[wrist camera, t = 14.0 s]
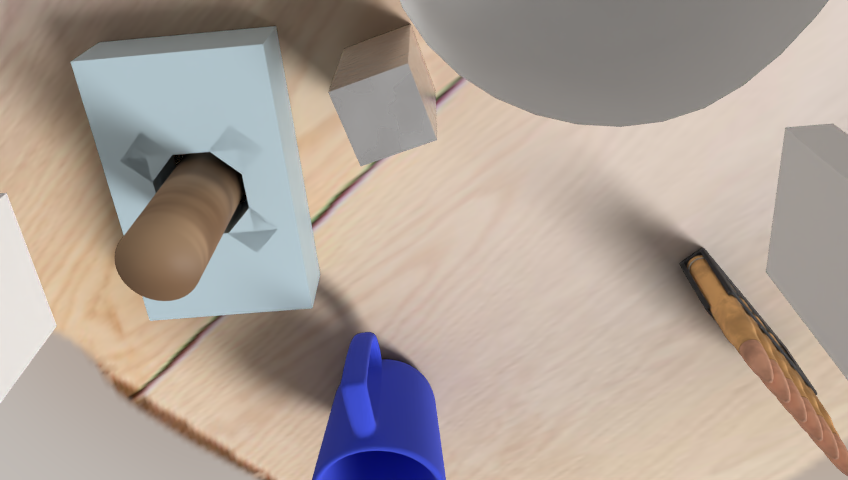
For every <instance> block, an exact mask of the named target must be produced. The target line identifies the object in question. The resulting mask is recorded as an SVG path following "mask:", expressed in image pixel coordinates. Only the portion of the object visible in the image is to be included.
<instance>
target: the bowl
mask: <svg viewBox="0 0 848 480" xmlns="http://www.w3.org/2000/svg"><path fill="white" fill-rule="evenodd" d="M828 1H829V0H400V2H401V5H402V8H403V9H404V11H405V12H406V14H407V15H408V17H409V18H410V20H411V21H412V22H413V24H414V25H415V27H416V28H417V30H418V31H419V33H420V34H421V36H422V37H423V39H424V40H425V42H426V43H427V45H428V46H429V47H430V48H431V49H433V50H434V51H435V52H436V53H437V54H438V55H439V56H440V57H441V58H442V59H443V60H444V61H445V62H446V63H447V64H448V65H449V66H450V67H451V68H452V69H454V70H455V71H456V72H457V73H458V74H459V75H460V76H462V77H463V78H465V79H466V80H468V81H470V82H471V83H473V84H474V85H476V86H477V87H479V88H481V89H482V90H484V91H485V92H487V93H488V94H490V95H492V96H493V97H495V98H497V99H499V100H501V101H504V102H506V103H509V104H511V105H513V106H516V107H518V108H521V109H523V110H526V111H528V112H530V113H533V114H535V115H539V116H544V117H548V118H552V119H557V120H561V121H565V122H570V123H574V124H581V125H599V126H616V127H622V126H631V125H639V124H647V123H655V122H663V121H666V120H669V119H672V118H675V117H678V116H682V115H685V114H688V113H691V112H694V111H697V110H700V109H703V108H705V107H707V106H709V105H711V104H712V103H714V102H716V101H717V100H719V99H721V98H723V97H724V96H726V95H728V94H729V93H731V92H733V91H735V90H736V89H738V88H740V87H741V86H743V85H744V84H746V83H747V82H748V81H749V80H750V79H752V78H753V77H754V76H755V75H757V74H758V73H759V72H760V71H761V70H763V69H764V68H765V67H766V66H767V65H769V64H770V63H771V62H772V61H773V60H775V59H776V58H777V57H778V56H779V55H781V54H782V53H783V51H784V50H785V49H786V48H787V47H788V46H789V45H790V44H791V43H792V42H793V41H794V40H795V39H796V38H797V36H798V35H799V34H800V33H801V32H802V31H803V30H804V29H805V28H806V27H807V26H808V25H809V24H810V23H811V22H812V20H813V19H814V18H815V17H816V16H817V15H818V14H819V12H820V11H821V10H822V8H823V7H824V6H825V4H826V3H827V2H828Z"/></svg>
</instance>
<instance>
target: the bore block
mask: <svg viewBox="0 0 848 480" xmlns="http://www.w3.org/2000/svg"><path fill="white" fill-rule="evenodd" d="M71 65H72V69H73V72H74V75H75V78H76V82H77V85H78V88H79V91H80V95H81V98H82V101H83V104H84V108H85V111H86V114H87V117H88V121H89V124H90V127H91V130H92V134H93V137H94V140H95V143H96V147H97V150H98V153H99V156H100V160H101V163H102V166H103V170H104V173H105V176H106V179H107V183H108V186H109V189H110V192H111V196H112V199H113V202H114V205H115V209H116V212H117V215H118V218H119V222H120V225H121V228H122V231H123V235H125V234H126V232H127V231H128V230H129V228H130V227H131V226H132V224H133V223H134V222H135V220H136V219H137V218H138V216H139V215H140V214H141V212H142V211H143V210H144V208H145V207H146V206H147V204H148V203H149V202H150V200H151V199H152V198H153V196H154V195H155V194H156V193H157V191H158V190H159V189H160V187H161V186H162V185H163V183H164V182H165V181H166V179H167V178H168V177H169V175H170V174H171V173H172V171H173V170H174V169H175V167H176V164H175V160H174V156H173V155H177V154H189V153H201V152H211V153H212V154H214V155H215V156H217V157H218V158H219V159H221V160H222V161H224V162H225V163H226V164H228V165H229V166H231V167H232V168H234V169H235V170H236V171H238V172H239V173H241V174H242V178H243V182H244V187H245V191H246V196H247V199H246V200H245V201H244V203H239V204H238V206H237V208H236V210H235V212H234V214H233V216H232V218H231V220H230V222H229V224H228V226H227V228H226V230H225V232H224V233H223V235H222V237H221V239H220V241H219V243H218V245H217V247H216V249H215V251H214V253H213V255H212V257H211V259H210V261H209V263H208V265H207V267H206V269H205V271H204V273H203V275H202V276H201V278H200V280H199V282H198V284H197V286H196V287H195V289H194V290H193V291H192V292H191V293H189V294H188V295H186V296H185V297H183V298H180V299H177V300H172V301H157V300H152V299H149V298H146V297H143V296H142V297H143V300H144V303H145V306H146V310H147V313H148V316H149V319H150V321H152V320H166V319H179V318H192V317H205V316H218V315H231V314H244V313H257V312H270V311H283V310H297V309H310V308H313V304H314V300H315V295H316V291H317V287H318V282H319V278H320V270H319V264H318V259H317V253H316V248H315V242H314V236H313V231H312V225H311V219H310V214H309V208H308V203H307V197H306V191H305V186H304V180H303V174H302V169H301V163H300V157H299V152H298V146H297V141H296V135H295V129H294V124H293V118H292V112H291V107H290V101H289V95H288V90H287V84H286V79H285V73H284V67H283V62H282V56H281V50H280V45H279V39H278V34H277V28H276V26H271V27H260V28H249V29H238V30H227V31H217V32H206V33H195V34H184V35H173V36H162V37H151V38H140V39H130V40H119V41H108V42H99V43H97V44H96V45H94V46H93V47H91V48H90V49H88V50H87V51H85V52H84V53H83V54H81V55H80V56H78V57H77V58H75V59H74V60H72V61H71Z"/></svg>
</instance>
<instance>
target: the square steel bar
mask: <svg viewBox="0 0 848 480" xmlns="http://www.w3.org/2000/svg"><path fill="white" fill-rule="evenodd" d="M328 93H329V95H330V97H331V99H332V102H333V104H334V106H335V109H336V111H337V113H338V115H339V118H340V120H341V122H342V125H343V127H344V129H345V131H346V134H347V136H348V138H349V141H350V143H351V145H352V147H353V150H354V152H355V154H356V157H357V159H358V161H359V163H360V166H363V165H366V164H369V163H372V162H374V161H377V160H380V159H383V158H386V157H389V156H392V155H395V154H398V153H401V152H403V151H406V150H409V149H412V148H415V147H418V146H421V145H424V144H427V143H430V142H433V141H435V140H437V123H436V96H435V88H434V85H433V82H432V80H431V77H430V74H429V72H428V69H427V66H426V63H425V61H424V58H423V55H422V53H421V50H420V47H419V45H418V42H417V39H416V36H415V34H414V31H413V28H412V26H411V24H409V25H406V26H403V27H401V28H398V29H395V30H392V31H390V32H387V33H384V34H382V35H379V36H376V37H374V38H371V39H368V40H366V41H363V42H360V43H358V44H355V45H352V46H350V47H347V48H344V50H343V53H342V55H341V58H340V61H339V64H338V67H337V69H336V72H335V75H334V78H333V81H332V83H331V86H330V89H329V92H328Z"/></svg>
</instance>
